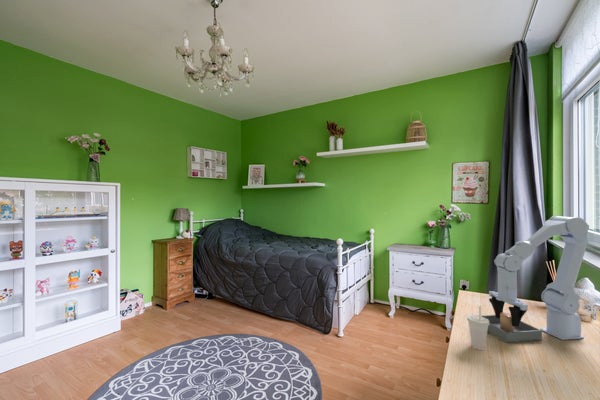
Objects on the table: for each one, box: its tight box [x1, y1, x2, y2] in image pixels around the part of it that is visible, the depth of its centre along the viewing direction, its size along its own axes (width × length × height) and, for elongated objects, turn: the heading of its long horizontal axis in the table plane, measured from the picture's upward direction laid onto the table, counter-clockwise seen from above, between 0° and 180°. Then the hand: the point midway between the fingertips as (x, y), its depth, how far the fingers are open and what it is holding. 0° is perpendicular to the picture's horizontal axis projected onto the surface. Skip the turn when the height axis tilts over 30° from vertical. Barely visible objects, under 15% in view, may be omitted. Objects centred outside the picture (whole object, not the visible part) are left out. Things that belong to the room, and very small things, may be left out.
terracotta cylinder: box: [500, 311, 515, 332], centre depth 103 cm, size 4×4×6 cm
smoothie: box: [466, 305, 490, 351], centre depth 92 cm, size 6×6×14 cm
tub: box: [481, 314, 543, 344], centre depth 103 cm, size 14×14×4 cm
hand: (507, 321), depth 103 cm, fingers open, 6 cm apart
